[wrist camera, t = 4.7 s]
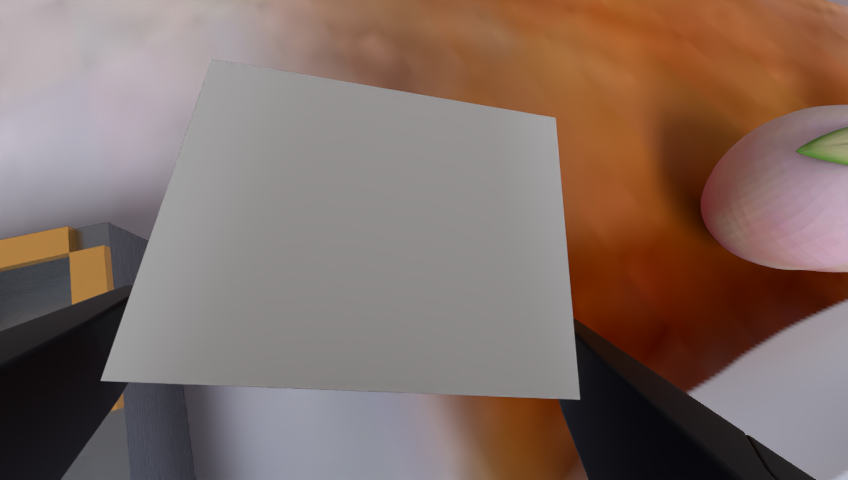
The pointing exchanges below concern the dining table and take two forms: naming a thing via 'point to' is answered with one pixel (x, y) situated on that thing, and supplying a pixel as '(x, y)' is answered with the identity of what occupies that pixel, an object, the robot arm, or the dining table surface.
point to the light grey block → (354, 246)
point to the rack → (140, 402)
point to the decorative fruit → (785, 192)
